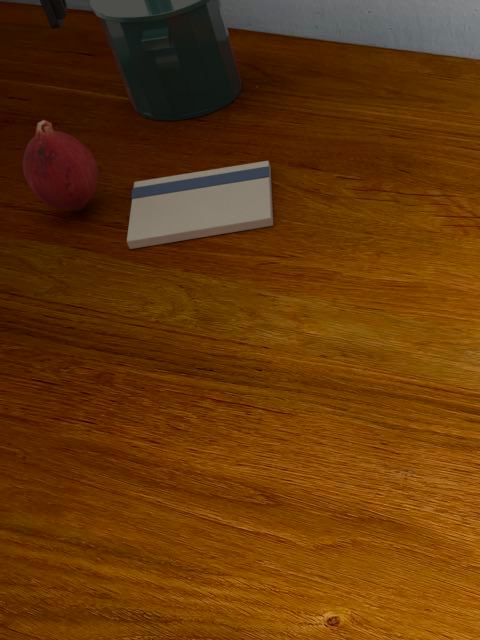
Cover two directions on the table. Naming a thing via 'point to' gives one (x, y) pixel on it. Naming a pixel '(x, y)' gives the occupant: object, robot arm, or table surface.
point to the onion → (60, 168)
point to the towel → (200, 204)
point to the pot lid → (142, 9)
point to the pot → (176, 63)
